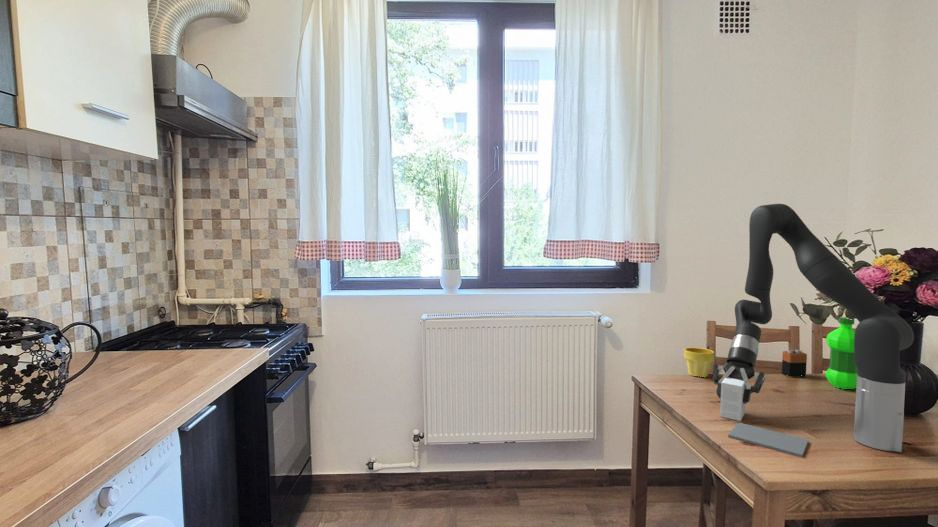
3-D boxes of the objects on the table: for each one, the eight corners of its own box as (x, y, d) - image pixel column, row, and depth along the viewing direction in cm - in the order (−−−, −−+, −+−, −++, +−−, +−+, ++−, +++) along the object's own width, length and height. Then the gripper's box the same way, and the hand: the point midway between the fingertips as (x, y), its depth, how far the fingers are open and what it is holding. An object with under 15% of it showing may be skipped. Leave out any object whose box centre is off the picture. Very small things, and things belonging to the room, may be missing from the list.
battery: (806, 377, 171) (807, 351, 170) (789, 377, 170) (790, 351, 170) (797, 373, 175) (798, 348, 175) (780, 374, 175) (782, 348, 174)
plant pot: (702, 370, 179) (702, 346, 178) (719, 378, 169) (720, 353, 168) (677, 371, 178) (678, 347, 177) (694, 379, 168) (694, 354, 167)
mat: (808, 442, 116) (808, 439, 116) (802, 457, 109) (802, 454, 108) (738, 424, 127) (738, 422, 127) (728, 436, 120) (728, 434, 120)
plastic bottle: (826, 381, 166) (829, 314, 165) (863, 387, 159) (867, 318, 157) (821, 387, 159) (825, 318, 158) (861, 394, 152) (865, 322, 150)
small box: (724, 408, 139) (725, 375, 138) (745, 413, 136) (746, 379, 135) (719, 416, 133) (720, 382, 132) (741, 421, 129) (742, 386, 129)
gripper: (715, 342, 143) (703, 387, 135) (768, 349, 133) (758, 399, 126) (719, 355, 148) (707, 399, 140) (771, 363, 138) (761, 412, 130)
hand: (731, 399), depth 133 cm, fingers closed on small box, 6 cm apart
